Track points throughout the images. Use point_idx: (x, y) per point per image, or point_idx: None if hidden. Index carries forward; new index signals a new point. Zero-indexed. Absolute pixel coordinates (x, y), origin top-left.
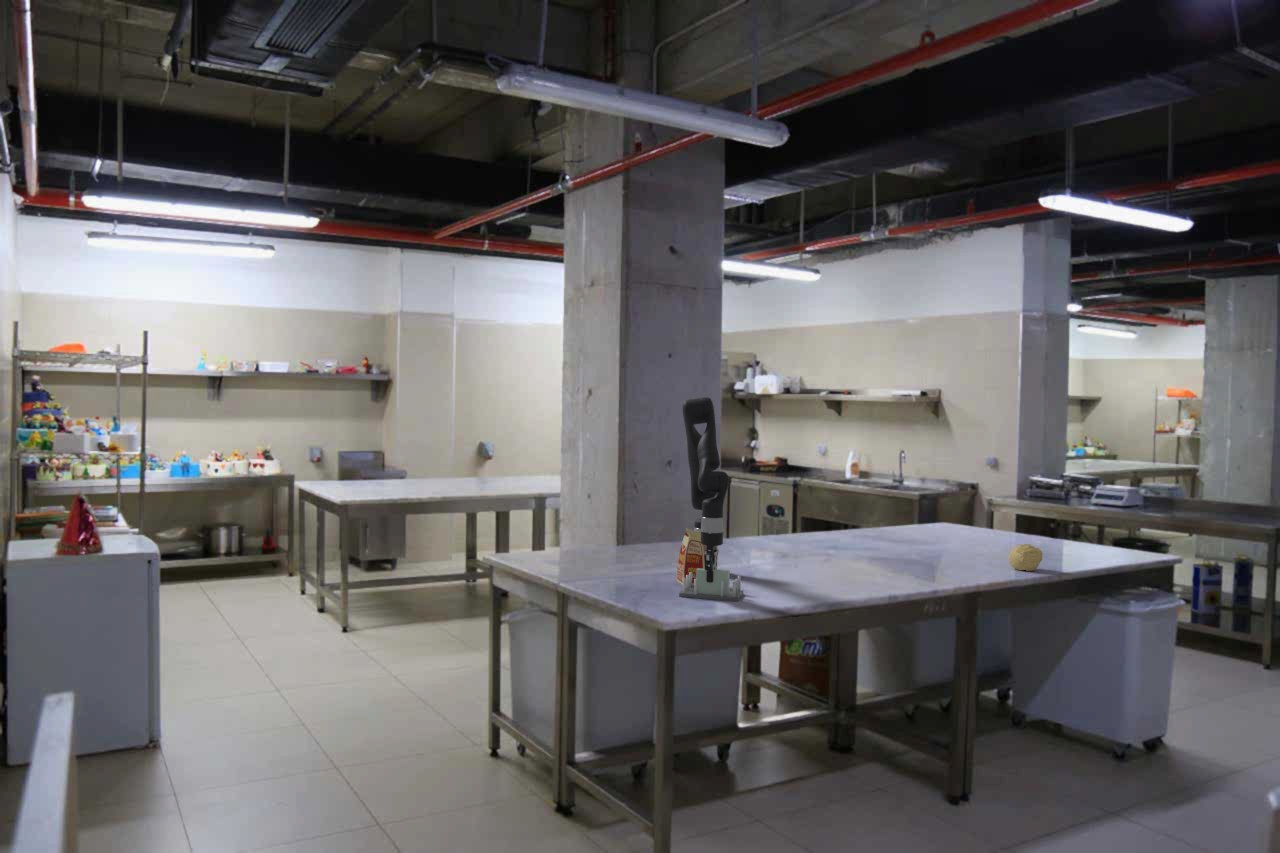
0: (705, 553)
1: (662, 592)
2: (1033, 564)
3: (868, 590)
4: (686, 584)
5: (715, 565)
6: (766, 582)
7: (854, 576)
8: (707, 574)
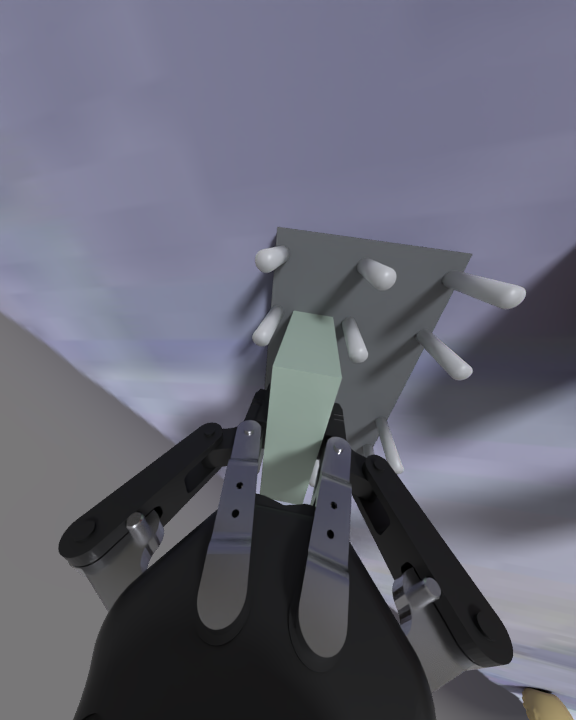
0: (205, 567)
1: (385, 80)
2: (524, 704)
3: None
4: (363, 264)
5: (316, 487)
6: (551, 512)
7: (563, 617)
8: (248, 412)
